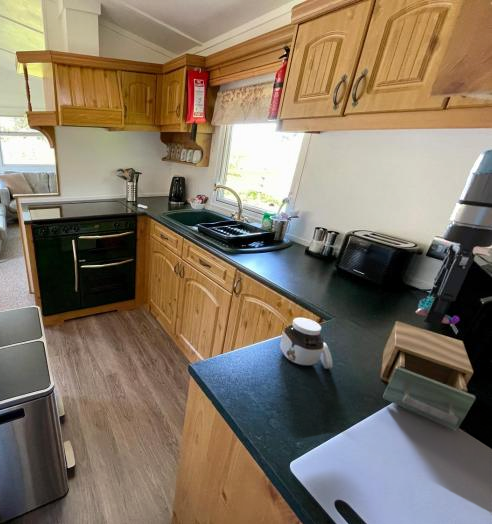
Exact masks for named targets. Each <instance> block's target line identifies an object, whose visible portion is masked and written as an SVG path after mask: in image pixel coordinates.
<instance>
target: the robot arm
mask: <svg viewBox="0 0 492 524" xmlns="http://www.w3.org/2000/svg"><path fill="white" fill-rule="evenodd" d="M449 220H450V221H451V222H452V223H450V224H448V225H447V227H446V229H445V232H444V233H443V236H442V238H443V240H444V241H447V242H450V243H453V244H450V245H449V247H448V248H447V250H446V254H445V256H444V259H443V261H442V263H441V265H440V267H439V270H438V271H437V273H436V276H435V277H434V279H433V281H434V282H433V286H432V287H431V289H430V291H429V295H428V296H427V297H428V298H429V297H431V296H432V297H434V299H433V301H432V304H427V303H428V302H429V301H428V302H427V299H428V298H427V297H426V300H425V302H427V303H426V304H427V305H431V306H429V307H430V308H429V311H428V313H427V315H425V317H424V319H423V322H424V323H427V324H431V325H434V326H437V327H440V326H441V325H442V324H443V323H442V321H443V319H444V317H445V315H447V313H448V311H449V308H450V306H451V304H452V303H454V302H455V301H456V300H457V297H458V295H459V292H460V290H461V288H462V286H463V284H464V282H465V279H466V277H467V275H468V272H469V270H470V268H471V266H472V265H473V263H474V262H475V257H476V254H475V253H474V249H475V248H477V247H478V248H489V247H492V149H488V150H485V151H483V152H481V153H480V154H479V156H478V158H477V159H476V161H475V163H474V165H473V166H472V169H471V170H470V172H469V175H468V177H467V180H466V183H465V185H464V188H463V190H462V192H461V194H460V197H459V200H458V202H457V203H456V205H455V208H454V210H453V212H452V215H451V216H450V218H449ZM430 300H431V299H430ZM423 309H424V308H423ZM425 310H426V309H425Z"/></svg>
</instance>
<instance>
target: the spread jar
mask: <svg viewBox="0 0 492 524" xmlns="http://www.w3.org/2000/svg"><path fill="white" fill-rule="evenodd" d="M321 331H322V326H321V324H319V323H318V322H316V321H315V320H313V319H310V318H307V317H295V318H293V321H292V324H290V325H287V326H286V327H285V328H284V329H283V331H282V335H281V337H280V342H279V343H280V344H279V347H280V351H281V354H282V356H283V358H284V359H285V360H286V361H287V362H288V363H290V364H292V365H294V366H297V367H300V368H307V367H312V366H314V365H315V366H316V365H317V364H318V363H319V361H320V363H321V365H322V366H323V368H324V369H325V370H326V369H333V366H334V365H333V358H332V354H331V350H330V348H329V346H328V345H327V343H326V342H324V339H323V337H322V335H321Z"/></svg>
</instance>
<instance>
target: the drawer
mask: <svg viewBox="0 0 492 524" xmlns="http://www.w3.org/2000/svg"><path fill="white" fill-rule="evenodd" d="M382 399H384V400H386V401H388V402H391V403H393V404H394V405H397V406H400V407H402V408H404V409H406V410H408V411H411V412H414V413H415V414H417V415H420V416H421V417H424V418H427V419H429V420H431V421H434V422H436V423H438V424H440V425H442V426H445V427H447V428H449V429H452V430H454V431H455V432H456V431H458V429H459V428H460V427H461V424H462V423H463V421H464V420H465V418H466V416H467V414H468V412H469V411H470V409H471V407H472V406H473V404H474V402H475V401H476V395H474V394H472V393H469V392H468V387H467V385H466V384H465V381H464V377H463V374H462V372H461V371H458V370H455V369H452V368H449V367H446V366H443V365H441V364H438V363H435V362H432V361H429V360H426V359H423V358H421V357H418V356H415V355H412V354H409V353H406V352H403V351H401V350H398V352H397V354H396V357H395V359H394V361H393V363H392V366H391V368H390V370H389V382H388V384H387V386H386V388H385V390H384V392H383V395H382Z"/></svg>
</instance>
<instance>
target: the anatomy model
mask: <svg viewBox="0 0 492 524" xmlns="http://www.w3.org/2000/svg"><path fill="white" fill-rule="evenodd" d="M427 298H428V296H426V298H422V299H421V300H419V304H418V305H417V310H416V311H415V314H417V315H419V316H426V315H427V313H428V311H429V308H430V307H429V306H431V305H427V304H432V301H433V299H434V297H432V296H431V297H429V298H428V299H427ZM430 299H431V300H430ZM426 301H427V302H428V301H429V302H428V303H427V302H426ZM426 303H427V304H426ZM423 308H424V309H423ZM425 309H426V310H425ZM458 322H460V317H459V316H457V315H453V316H450V315H447V314H446V315H445V317H444V319H443V321H442V323H441V324H449V325H455V324H457V323H458Z"/></svg>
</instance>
